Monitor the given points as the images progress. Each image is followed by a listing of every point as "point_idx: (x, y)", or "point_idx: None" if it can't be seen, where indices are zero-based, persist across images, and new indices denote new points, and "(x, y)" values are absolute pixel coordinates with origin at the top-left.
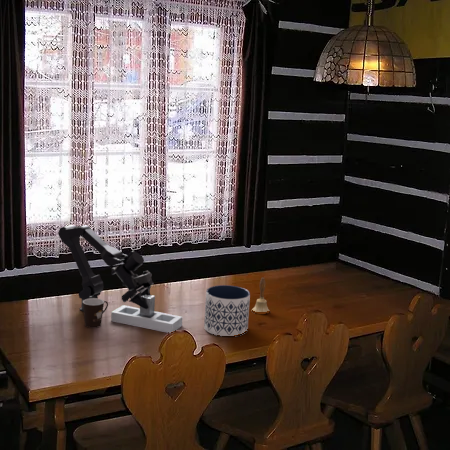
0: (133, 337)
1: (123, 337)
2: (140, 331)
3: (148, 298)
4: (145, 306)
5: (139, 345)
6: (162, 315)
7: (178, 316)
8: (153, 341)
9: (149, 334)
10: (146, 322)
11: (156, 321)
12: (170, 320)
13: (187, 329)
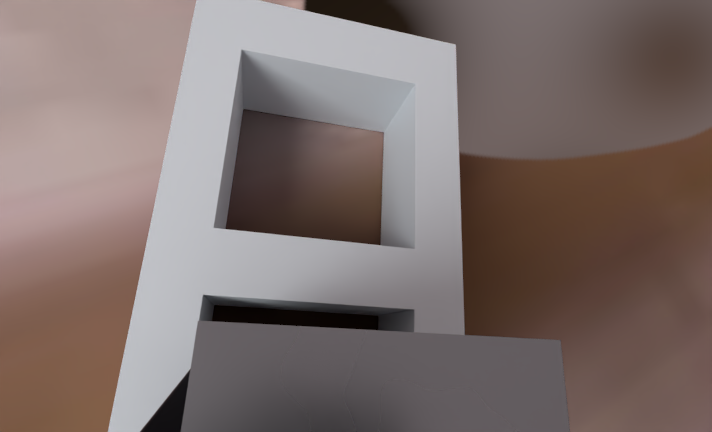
0: (635, 348)
1: (681, 427)
2: None
3: (563, 406)
4: None
5: (707, 242)
6: (217, 219)
7: (209, 25)
8: (606, 178)
9: (520, 253)
10: None
11: (457, 209)
12: (234, 135)
13: None
